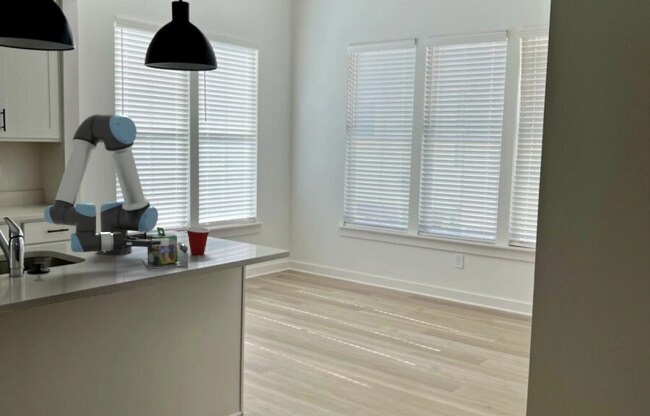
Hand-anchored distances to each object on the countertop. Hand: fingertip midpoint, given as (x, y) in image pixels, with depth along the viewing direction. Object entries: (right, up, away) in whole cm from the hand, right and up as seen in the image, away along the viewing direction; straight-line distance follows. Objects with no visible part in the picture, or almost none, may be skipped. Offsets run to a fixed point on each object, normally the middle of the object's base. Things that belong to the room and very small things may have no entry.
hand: (165, 239), depth 256 cm
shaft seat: (0, -10, +1) cm, 11 cm away
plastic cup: (+8, -8, +25) cm, 28 cm away
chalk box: (-2, -10, +1) cm, 10 cm away
